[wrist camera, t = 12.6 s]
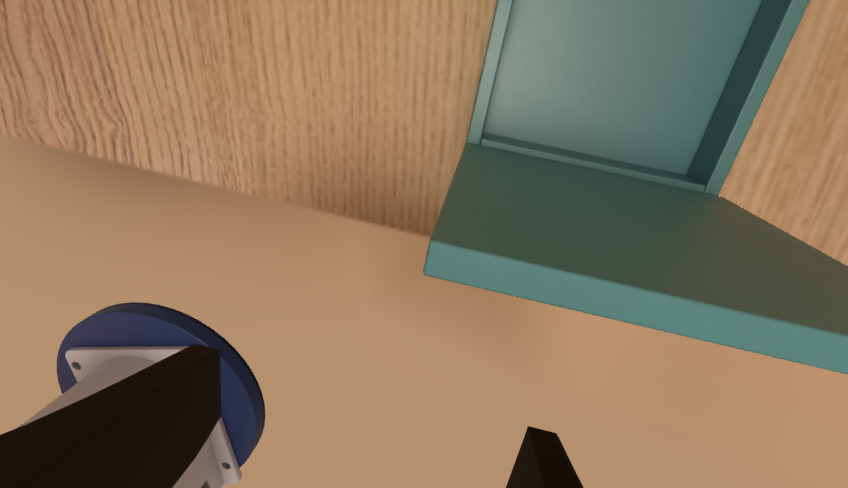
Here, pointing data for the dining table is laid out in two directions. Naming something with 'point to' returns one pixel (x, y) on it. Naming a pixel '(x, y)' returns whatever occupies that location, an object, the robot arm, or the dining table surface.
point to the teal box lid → (639, 256)
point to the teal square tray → (631, 83)
